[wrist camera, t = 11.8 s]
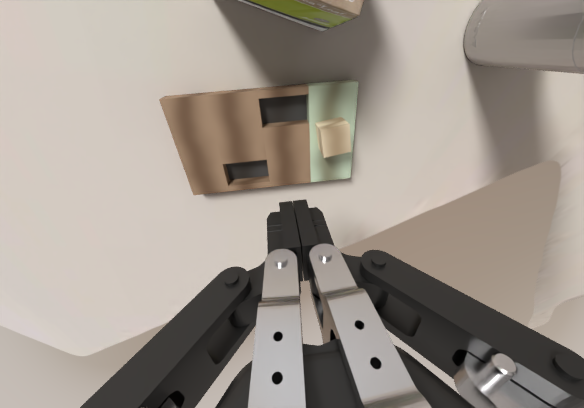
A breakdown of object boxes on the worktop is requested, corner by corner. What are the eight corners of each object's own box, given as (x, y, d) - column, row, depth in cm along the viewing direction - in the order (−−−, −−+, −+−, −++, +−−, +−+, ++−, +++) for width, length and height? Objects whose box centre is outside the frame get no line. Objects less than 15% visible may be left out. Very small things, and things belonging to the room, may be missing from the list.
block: (341, 116, 35) (349, 123, 31) (343, 142, 37) (351, 151, 34) (315, 122, 35) (320, 130, 31) (318, 147, 37) (324, 157, 34)
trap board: (352, 79, 34) (358, 81, 32) (346, 171, 43) (350, 177, 41) (165, 96, 33) (159, 99, 31) (197, 187, 41) (193, 195, 39)
